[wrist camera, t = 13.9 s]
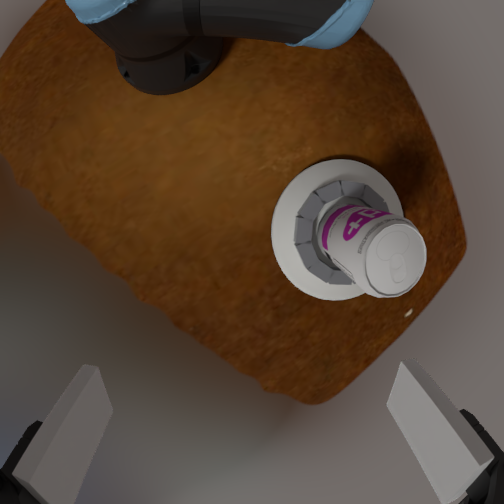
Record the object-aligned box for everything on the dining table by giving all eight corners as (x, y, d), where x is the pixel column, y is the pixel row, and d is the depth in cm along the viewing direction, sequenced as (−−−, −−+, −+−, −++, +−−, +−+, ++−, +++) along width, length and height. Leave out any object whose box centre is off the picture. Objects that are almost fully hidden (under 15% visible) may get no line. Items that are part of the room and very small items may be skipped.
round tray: (276, 151, 37) (279, 149, 34) (406, 171, 38) (416, 171, 36) (265, 295, 42) (266, 302, 39) (388, 297, 43) (396, 304, 40)
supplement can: (307, 214, 38) (347, 235, 23) (361, 195, 38) (423, 205, 23) (324, 269, 40) (367, 316, 25) (375, 249, 40) (435, 283, 25)
